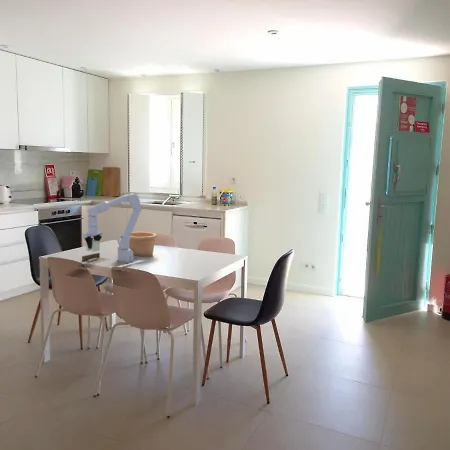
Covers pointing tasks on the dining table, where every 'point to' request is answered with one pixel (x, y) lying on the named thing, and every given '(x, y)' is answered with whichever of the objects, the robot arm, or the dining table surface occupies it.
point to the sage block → (93, 246)
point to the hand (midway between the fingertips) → (93, 247)
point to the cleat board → (93, 258)
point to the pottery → (142, 243)
